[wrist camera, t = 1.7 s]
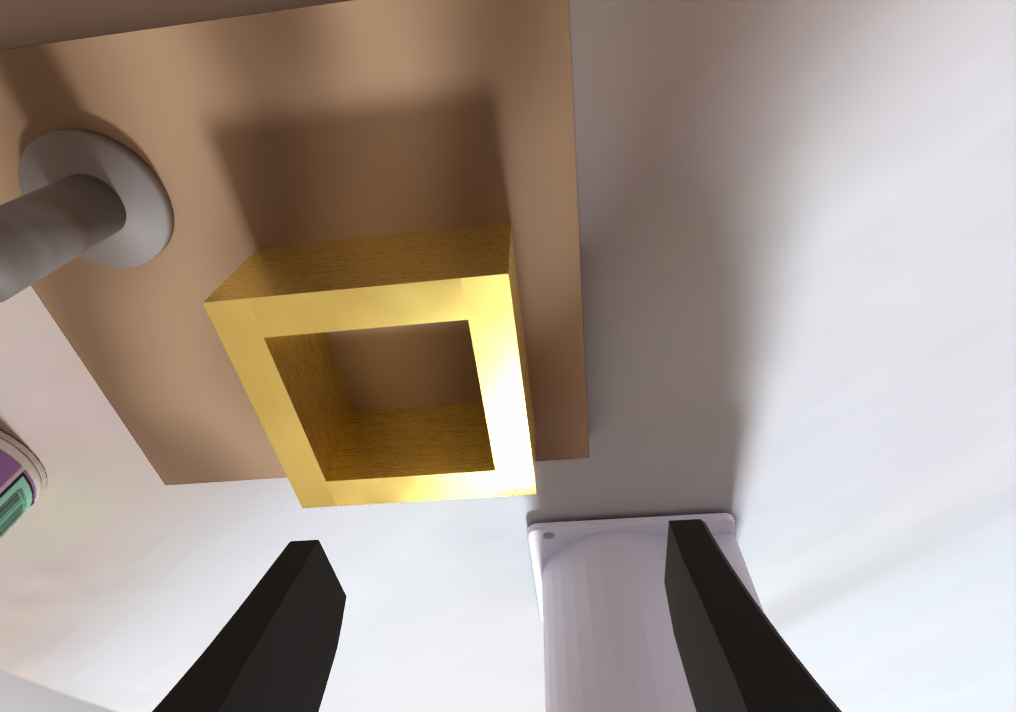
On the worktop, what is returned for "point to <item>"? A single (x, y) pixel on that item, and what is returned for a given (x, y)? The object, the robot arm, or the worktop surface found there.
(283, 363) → the golden square frame
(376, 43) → the board
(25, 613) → the worktop surface
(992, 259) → the worktop surface
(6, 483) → the spray can
